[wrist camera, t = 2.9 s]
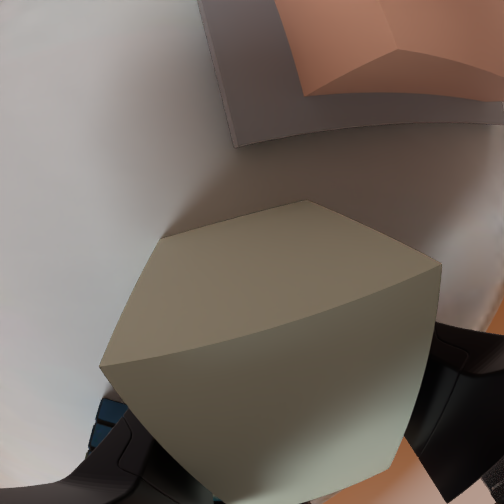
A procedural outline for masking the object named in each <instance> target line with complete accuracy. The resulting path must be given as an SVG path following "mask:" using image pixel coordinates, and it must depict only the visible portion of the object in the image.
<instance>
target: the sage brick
mask: <svg viewBox="0 0 504 504" xmlns="http://www.w3.org/2000/svg"><path fill="white" fill-rule="evenodd" d="M441 271H442V264H441V263H440V262H438V261H436V260H434V259H432V258H430V257H428V256H427V255H425V254H423V253H421V252H419V251H417V250H415V249H413V248H411V247H409V246H407V245H405V244H403V243H401V242H399V241H397V240H395V239H393V238H391V237H389V236H387V235H385V234H383V233H381V232H378V231H376V230H374V229H372V228H370V227H368V226H366V225H363V224H361V223H359V222H357V221H355V220H352V219H350V218H348V217H346V216H344V215H341V214H339V213H337V212H334V211H332V210H330V209H327V208H325V207H323V206H320V205H318V204H316V203H313V202H311V201H308V200H304V201H299V202H295V203H291V204H287V205H283V206H279V207H275V208H271V209H267V210H263V211H259V212H256V213H252V214H248V215H244V216H240V217H237V218H233V219H229V220H225V221H222V222H218V223H215V224H211V225H207V226H204V227H200V228H197V229H193V230H190V231H186V232H183V233H179V234H176V235H172V236H169V237H166V238H162V239H160V240H159V241H158V243H157V245H156V247H155V249H154V251H153V252H152V254H151V256H150V258H149V260H148V262H147V264H146V266H145V268H144V269H143V271H142V273H141V275H140V277H139V279H138V281H137V283H136V285H135V287H134V289H133V291H132V293H131V295H130V297H129V299H128V302H127V304H126V306H125V308H124V310H123V312H122V314H121V316H120V319H119V321H118V323H117V325H116V327H115V330H114V332H113V334H112V337H111V339H110V341H109V343H108V346H107V348H106V351H105V353H104V355H103V358H102V360H101V363H100V365H99V368H100V369H101V371H102V372H103V373H104V375H105V376H106V378H107V379H108V381H109V382H110V384H111V385H112V386H113V388H114V389H115V390H116V392H117V393H118V395H119V396H120V397H121V399H122V400H123V401H124V402H125V404H126V405H127V406H128V408H129V409H130V410H131V411H132V413H133V414H134V415H135V416H136V417H137V419H138V420H139V421H140V422H141V423H142V425H143V426H144V427H145V428H146V429H147V430H148V432H149V433H150V434H151V435H152V436H153V437H154V438H155V439H156V440H157V441H158V443H159V444H160V445H161V446H162V447H163V448H164V449H165V450H166V451H167V452H168V453H169V454H170V455H171V456H172V457H173V458H174V459H175V460H176V461H177V462H178V463H179V464H180V465H181V466H182V467H183V468H184V469H185V470H186V471H188V472H189V473H190V474H191V475H192V476H193V477H194V478H195V479H196V480H198V481H199V482H200V483H201V484H202V485H203V486H204V487H206V488H207V489H208V490H209V491H210V492H212V493H213V494H214V495H215V496H217V497H218V498H219V499H220V500H222V501H223V502H224V503H226V504H300V503H303V502H307V501H310V500H313V499H316V498H319V497H322V496H325V495H328V494H331V493H334V492H336V491H339V490H342V489H344V488H347V487H349V486H352V485H354V484H357V483H359V482H361V481H363V480H366V479H368V478H370V477H372V476H374V475H376V474H379V473H381V472H383V471H385V470H387V469H388V468H389V467H390V465H391V463H392V461H393V459H394V457H395V454H396V452H397V450H398V447H399V445H400V443H401V440H402V438H403V435H404V433H405V430H406V428H407V425H408V422H409V420H410V417H411V414H412V411H413V408H414V405H415V402H416V399H417V396H418V393H419V389H420V386H421V382H422V379H423V375H424V371H425V368H426V364H427V359H428V355H429V351H430V346H431V341H432V336H433V331H434V326H435V320H436V314H437V307H438V300H439V291H440V282H441Z"/></svg>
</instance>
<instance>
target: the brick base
mask: <svg viewBox="0 0 504 504" xmlns="http://www.w3.org/2000/svg"><path fill="white" fill-rule="evenodd" d="M197 2H198V6H199V10H200V14H201V18H202V21H203V25H204V29H205V33H206V37H207V41H208V45H209V49H210V53H211V57H212V61H213V65H214V69H215V73H216V77H217V81H218V85H219V89H220V93H221V97H222V101H223V105H224V109H225V113H226V117H227V121H228V125H229V129H230V133H231V137H232V141H233V145H234V148H237V147H241V146H246V145H250V144H255V143H260V142H264V141H269V140H274V139H280V138H285V137H291V136H296V135H302V134H309V133H315V132H322V131H329V130H337V129H345V128H354V127H363V126H375V125H388V124H405V123H477V124H494V125H504V111H503V105H502V101H504V0H197Z"/></svg>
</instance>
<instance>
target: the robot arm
mask: <svg viewBox="0 0 504 504" xmlns="http://www.w3.org/2000/svg"><path fill="white" fill-rule="evenodd" d="M123 416H124V417H121V418H120V420H119V421H118V422H117V424H116V425H115V426H114V427H113V429H112V430H111V431H110V432H109V433H108V435H107V436H106V437H105V438H104V439H103V440H102V442H101V443H100V444H99V445H98V446H97V447H96V448H95V449H94V450H93V451H92V452H91V453H90V454H89V455H88V456H87V458H86V459H85V460H84V461H83V462H82V463H81V464H80V465H79V466H78V467H77V468H76V469H75V470H74V471H73V472H72V473H71V474H70V475H69V476H67V477H66V478H64V479H62V480H60V481H57V482H54V483H48V484H42V485H35V486H27V487H17V488H0V504H214V503H213V493H212V492H210V491H209V490H208V489H207V488H206V487H204V486H203V485H202V484H201V483H200V482H199V481H198V480H196V479H195V478H194V477H193V476H192V475H191V474H190V473H189V472H188V471H186V470H185V469H184V468H183V467H182V466H181V465H180V464H179V463H178V462H177V461H176V460H175V459H174V458H173V457H172V456H171V455H170V454H169V453H168V452H167V451H166V450H165V449H164V448H163V447H162V446H161V445H160V444H159V443H158V441H157V440H156V439H155V438H154V437H153V436H152V435H151V434H150V433H149V432H148V430H147V429H146V428H145V427H144V426H143V425H142V423H141V422H140V421H139V420H138V419H137V417H136V416H135V415H134V414H133V413H132V411H131V410H130V409H129V408H128V409H127V411H126V412H125V413H124V415H123ZM404 437H405V438H406V439H407V441H408V443H409V444H410V446H411V447H412V449H413V450H414V452H415V453H416V455H417V456H418V457H419V460H420V462H421V463H422V465H423V466H424V468H425V470H426V471H427V473H428V474H429V476H430V477H431V479H432V481H433V482H434V484H435V486H436V487H437V489H438V490H439V492H440V494H441V495H442V497H443V498H444V500H445V502H446V503H449V502H451V501H452V500H453V499H455V498H456V497H457V496H459V495H460V494H461V493H463V492H464V491H465V490H466V489H468V488H469V487H470V486H471V485H473V484H474V483H475V482H476V481H477V480H479V479H480V478H481V480H482V481H483V483H484V484H485V485H486V487H487V488H488V489H489V491H490V493H491V495H492V497H493V498H494V499H495V501H496V503H495V504H504V335H499V334H492V333H486V332H480V331H474V330H469V329H463V328H458V327H454V326H450V325H446V324H442V323H438V322H435V326H434V331H433V336H432V341H431V346H430V351H429V355H428V359H427V364H426V368H425V371H424V375H423V379H422V382H421V386H420V389H419V393H418V396H417V399H416V402H415V405H414V408H413V411H412V414H411V417H410V420H409V422H408V425H407V428H406V430H405V433H404ZM300 504H311V503H310V501H307V502H303V503H300Z"/></svg>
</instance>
